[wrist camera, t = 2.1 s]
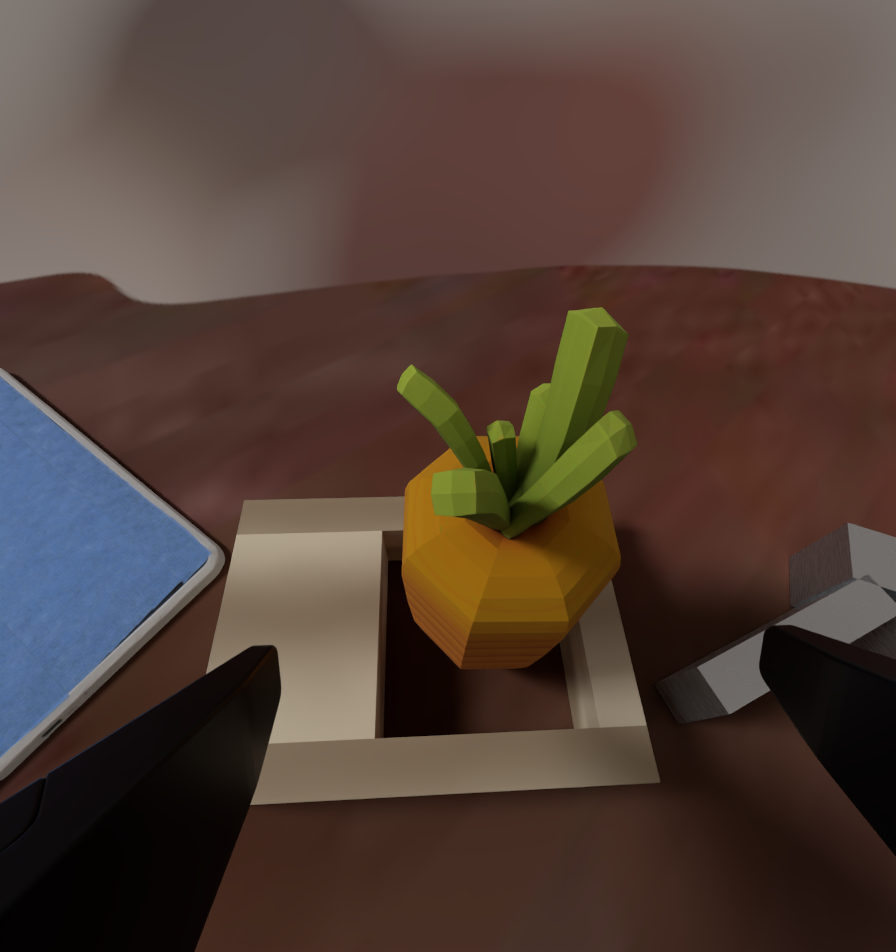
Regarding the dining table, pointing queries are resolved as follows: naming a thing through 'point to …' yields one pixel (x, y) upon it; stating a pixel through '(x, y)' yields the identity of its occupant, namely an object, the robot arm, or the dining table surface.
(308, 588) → the socket block
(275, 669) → the robot arm
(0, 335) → the dining table surface
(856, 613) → the v-block
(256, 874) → the dining table surface
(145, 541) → the tablet computer
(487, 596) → the carrot
